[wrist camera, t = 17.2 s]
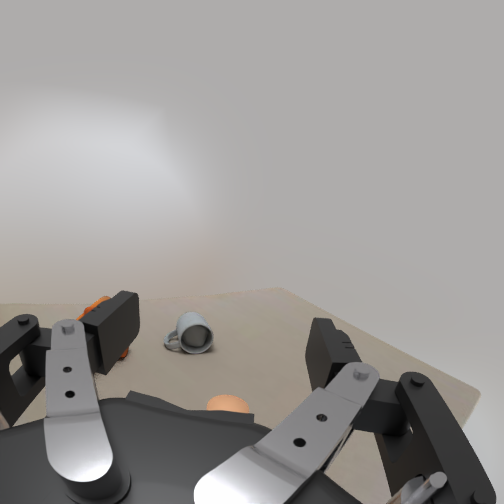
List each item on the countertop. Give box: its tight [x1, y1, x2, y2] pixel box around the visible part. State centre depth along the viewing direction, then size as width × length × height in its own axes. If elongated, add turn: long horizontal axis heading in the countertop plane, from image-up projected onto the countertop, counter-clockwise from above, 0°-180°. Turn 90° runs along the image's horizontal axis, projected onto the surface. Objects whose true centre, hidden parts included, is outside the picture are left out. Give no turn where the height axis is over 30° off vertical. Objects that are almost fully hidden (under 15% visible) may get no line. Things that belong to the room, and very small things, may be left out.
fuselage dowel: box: [207, 395, 249, 413], centre depth 28 cm, size 5×5×12 cm
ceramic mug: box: [164, 312, 213, 354], centre depth 60 cm, size 11×8×8 cm
